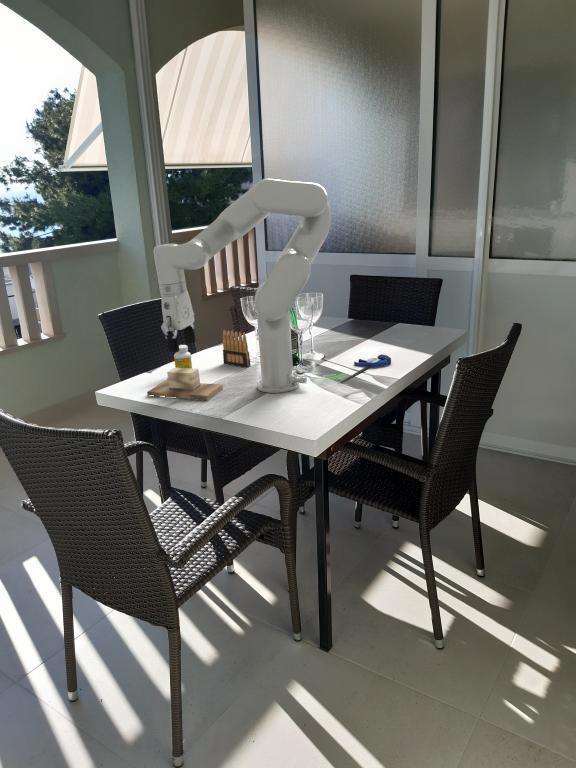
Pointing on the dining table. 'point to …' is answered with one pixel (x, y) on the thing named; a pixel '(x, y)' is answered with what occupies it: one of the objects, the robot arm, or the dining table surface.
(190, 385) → the block
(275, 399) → the dining table surface
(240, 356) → the ammunition clip
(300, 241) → the robot arm
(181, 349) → the supplement bottle
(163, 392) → the board
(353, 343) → the dining table surface
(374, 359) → the bar clamp
